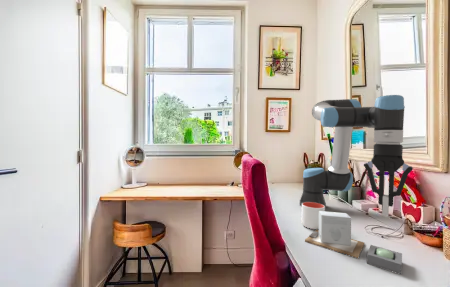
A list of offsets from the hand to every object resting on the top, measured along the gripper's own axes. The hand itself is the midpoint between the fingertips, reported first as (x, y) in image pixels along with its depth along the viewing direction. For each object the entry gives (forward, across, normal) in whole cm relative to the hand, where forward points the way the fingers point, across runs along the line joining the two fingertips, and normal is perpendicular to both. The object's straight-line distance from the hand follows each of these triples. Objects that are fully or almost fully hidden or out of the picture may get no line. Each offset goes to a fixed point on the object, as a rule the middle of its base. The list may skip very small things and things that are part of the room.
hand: (385, 215), depth 70 cm
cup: (+16, -28, +14) cm, 35 cm away
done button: (+15, 0, 0) cm, 15 cm away
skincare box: (+15, -16, +4) cm, 22 cm away
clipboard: (+16, -16, +4) cm, 23 cm away
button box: (+16, 0, 0) cm, 16 cm away
